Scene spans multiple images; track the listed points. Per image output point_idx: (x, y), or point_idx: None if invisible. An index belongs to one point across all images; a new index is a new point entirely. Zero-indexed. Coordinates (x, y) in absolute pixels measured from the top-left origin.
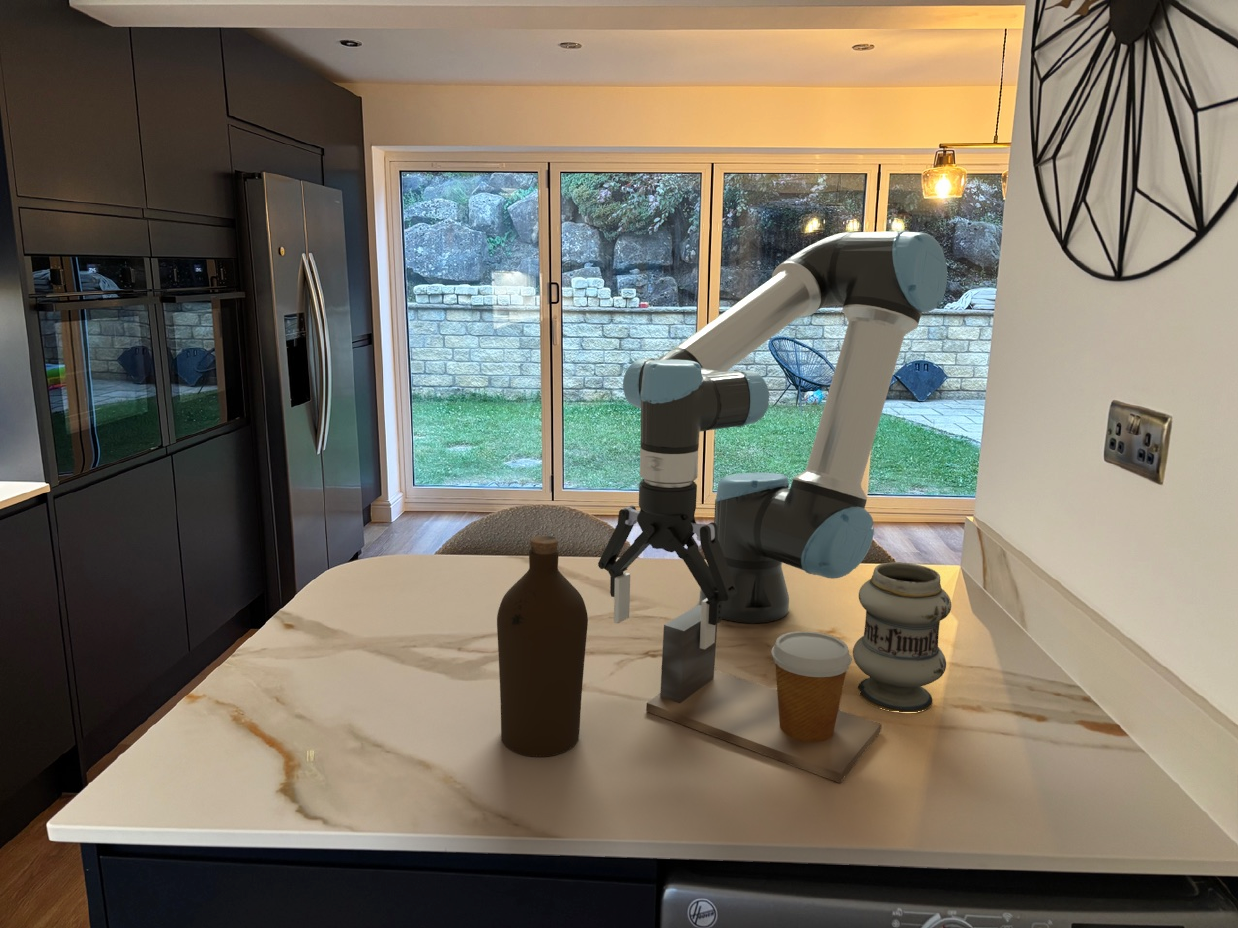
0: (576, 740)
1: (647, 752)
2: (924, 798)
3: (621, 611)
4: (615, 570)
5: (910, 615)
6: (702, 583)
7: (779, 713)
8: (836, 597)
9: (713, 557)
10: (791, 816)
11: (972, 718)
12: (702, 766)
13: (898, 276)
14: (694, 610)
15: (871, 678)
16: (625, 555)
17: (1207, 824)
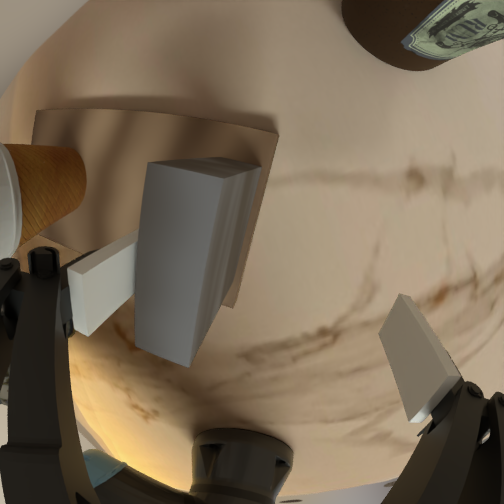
0: (342, 12)
1: (235, 31)
2: (9, 136)
3: (402, 319)
4: (468, 397)
5: None
6: (37, 314)
7: (71, 162)
8: (173, 461)
9: None
10: (74, 35)
11: None
12: (157, 43)
13: None
14: (180, 330)
15: (67, 326)
16: (462, 458)
17: None
